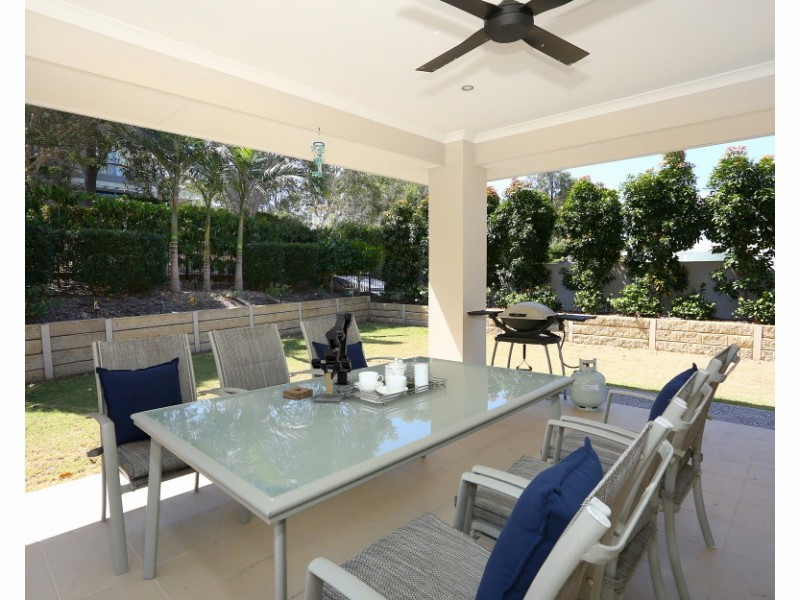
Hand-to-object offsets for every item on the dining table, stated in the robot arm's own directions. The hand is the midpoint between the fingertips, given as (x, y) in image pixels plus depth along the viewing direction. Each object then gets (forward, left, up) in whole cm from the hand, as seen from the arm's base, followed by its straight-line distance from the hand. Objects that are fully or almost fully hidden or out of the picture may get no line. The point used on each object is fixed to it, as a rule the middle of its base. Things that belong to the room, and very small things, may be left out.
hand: (328, 379), depth 216 cm
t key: (-1, 0, -7) cm, 7 cm away
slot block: (-3, -17, -10) cm, 20 cm away
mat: (-1, 0, -10) cm, 10 cm away
